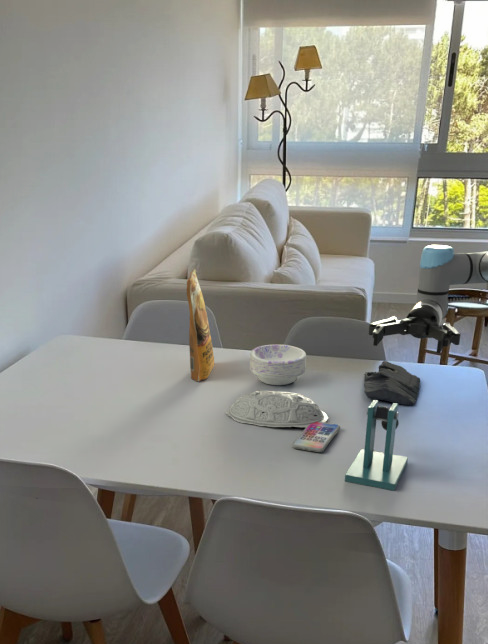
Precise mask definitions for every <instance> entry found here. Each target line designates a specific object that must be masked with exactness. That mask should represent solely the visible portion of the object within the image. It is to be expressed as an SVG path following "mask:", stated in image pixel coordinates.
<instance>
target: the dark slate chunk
mask: <svg viewBox="0 0 488 644" xmlns="http://www.w3.org/2000/svg"><path fill="white" fill-rule="evenodd" d="M363 387H364V391H363V392H364V395H365V397H367V398H369V399H373V400H378V401H383V402H384V401H385V402H390V403H398V405H405V406H413V405H415V404H416V402H417V399H418V396H419V391H420V387H421V378H420V377H418V376H417V375H416V374H412V373H410V372H409V371H407V369H406V368H404V367H403V366H401V365H398V364H395V363H392V362H389V361H387V360H383V361H382V362H381V364H379V365H378V371H366V372H365V373H364V378H363Z"/></svg>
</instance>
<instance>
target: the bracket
mask: <svg viewBox="0 0 488 644" xmlns="http://www.w3.org/2000/svg"><path fill="white" fill-rule="evenodd" d="M377 406H379V400H377V399H373V400H372V401H371V403H370V404H369V406H368V408H367V409H366V415H367V418H366V428H365V440H364V448H361V449H360V451H359V452H358V453H357V455H356V457H355V458H354V460H353V462H352V463H351V464H350V466H349V468H348V470H347V471H346V473H345V475H344V482H348V483H352V484H357V485H363V486H368V487H373V488H377V489H383V490H388V491H393V492H394V491H396V489H397V486H398V484H399V482H400V480H401V477H402V476H403V474H404V472H405V469H406V467H407V465H408V461H409V460H408V459H409V457H408V456H403V455H398V454H394V447H395V438H396V430H397V428H396V421H397V419H398V420H399V412H398V411H399V403H394V402H392V405H391V406H390V408H389V413H388V422H387V431H386V433H385V442H384V450H383V451H384V452H380V451H374V450H375V449H374V448H375V439H376V438H375V437H376V429H377V421H378V420H377V419H376V418H375V415H376V410H377Z"/></svg>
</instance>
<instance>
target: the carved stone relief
mask: <svg viewBox="0 0 488 644" xmlns="http://www.w3.org/2000/svg"><path fill="white" fill-rule="evenodd" d="M225 415H226V416H227V417H230V418H232V419H233V420H234V421H235V422H238V423H242V424H248V425H249V424H250V425H254V426H259V427H269V428H292V427H295V428H306V427H307V426H308V425H309V424H312V423H315V422H318V421H319V422H325V423H328V420H329V416H328V415H327V413H326V412H324V411H322V410H321V409H320V407H319V406H318V404H317V403H315V402H314V401H313V400H312V399H310V398H308V397H306V396H304V395H302V394H301V393H295V392H289V391H279V390H274V391H272V390H256V391H253V392H249V393H247V394H244V395H242V396H239V397H238V398H236V400H235V401H234V402H233V404H232V405H230V406H229V410H226V411H225Z"/></svg>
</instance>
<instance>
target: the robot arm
mask: <svg viewBox="0 0 488 644" xmlns="http://www.w3.org/2000/svg"><path fill="white" fill-rule="evenodd" d="M468 284H488V250H486V251H478V252H457V253H455V249H454V248H453V247H452V246H449V245H446V244H445V245H443V244H431V245H427V246H425V247H424V248H423V249H422V252H421V257H420V262H419V275H418V284H417V285H418V287H417V291H416V300H415V305H414V306H413V307H412V309H411V310H410V311H409V313H408V314H406V317H405V318H402V319H400V320H398V318H397V316H395V315H394V316H393V315H392V316H391V317H389V318H386V319H382V320H378V321H374V322H371V323H369V324H368V335H369V336H372V339H373V344H372V345H373V346H375V347H377V346H378V345H379V344H380V342H382V340H383V339H384V337H387V336H394V335H401V336H407V335H410V336H412V338H413V337H414V338H416V339H419V340H420V339H422V340H423V339H427V338H428V339H434V340H436V341H437V345H436V354H441V352H442V350H443V349H444V347H446V348H448V347H449V346H450V345H451V344H453V345H455V346H459V345H460V342H461V335H462V334H461V333H460V331H458V329H456V328H455V327H453V326H452V325H451V322H449V321H446V322H444V323H442V321H443V320H444V319H445V318H446V316H447V315H448V310H449V302H448V298H449V291H450V287H451V286H456V285H468ZM441 323H442V324H441Z"/></svg>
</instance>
